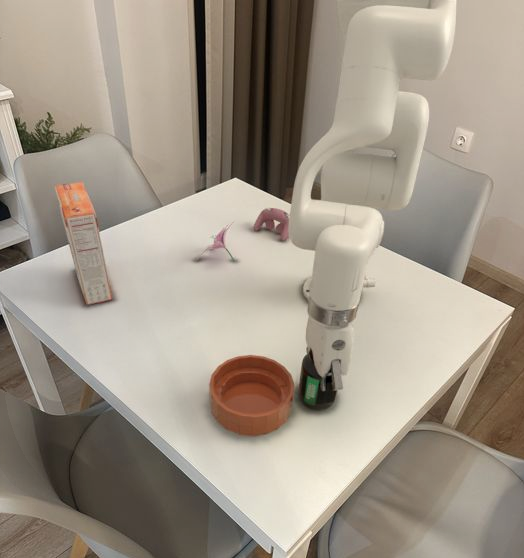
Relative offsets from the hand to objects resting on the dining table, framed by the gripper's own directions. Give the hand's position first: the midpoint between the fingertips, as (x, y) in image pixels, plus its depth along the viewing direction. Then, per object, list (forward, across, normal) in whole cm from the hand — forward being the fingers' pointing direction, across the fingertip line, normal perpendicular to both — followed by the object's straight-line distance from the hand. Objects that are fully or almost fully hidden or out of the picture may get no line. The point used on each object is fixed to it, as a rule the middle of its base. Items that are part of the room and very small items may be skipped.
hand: (318, 385), depth 90 cm
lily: (+3, +48, +11) cm, 49 cm away
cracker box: (+3, +40, +40) cm, 57 cm away
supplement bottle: (+3, 0, 0) cm, 3 cm away
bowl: (+3, 0, +12) cm, 12 cm away
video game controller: (+3, +58, -5) cm, 58 cm away
